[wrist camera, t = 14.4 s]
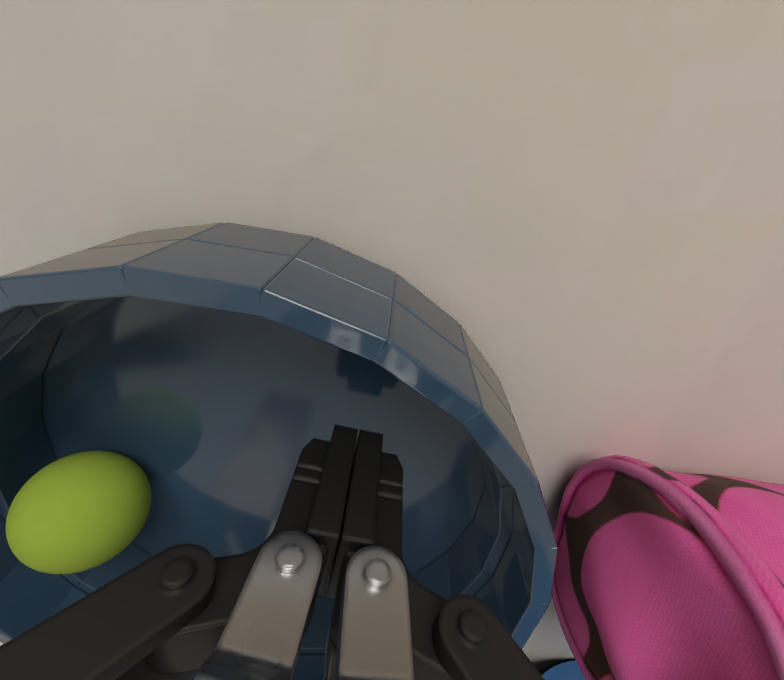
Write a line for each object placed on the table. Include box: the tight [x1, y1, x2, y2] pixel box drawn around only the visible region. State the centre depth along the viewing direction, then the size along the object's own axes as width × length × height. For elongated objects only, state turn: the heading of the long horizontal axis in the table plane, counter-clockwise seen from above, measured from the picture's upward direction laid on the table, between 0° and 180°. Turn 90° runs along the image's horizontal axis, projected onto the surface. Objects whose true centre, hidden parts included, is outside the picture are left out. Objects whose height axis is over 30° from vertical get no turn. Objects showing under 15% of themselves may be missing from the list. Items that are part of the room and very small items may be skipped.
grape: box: [6, 450, 152, 574], centre depth 14 cm, size 4×4×4 cm
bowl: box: [0, 223, 558, 680], centre depth 13 cm, size 19×19×5 cm
